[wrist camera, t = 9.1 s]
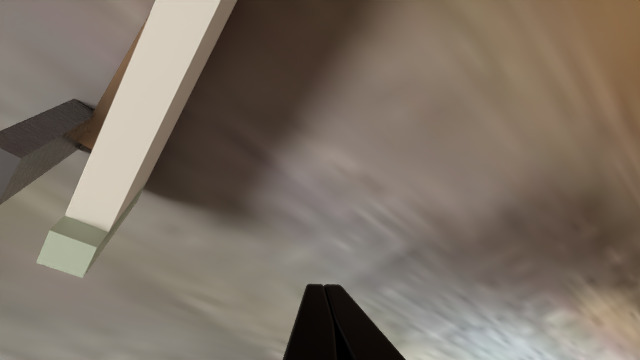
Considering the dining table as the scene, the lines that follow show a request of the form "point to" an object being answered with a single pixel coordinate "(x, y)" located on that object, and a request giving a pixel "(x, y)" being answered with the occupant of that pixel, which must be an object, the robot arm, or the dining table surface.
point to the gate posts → (53, 136)
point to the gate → (136, 128)
